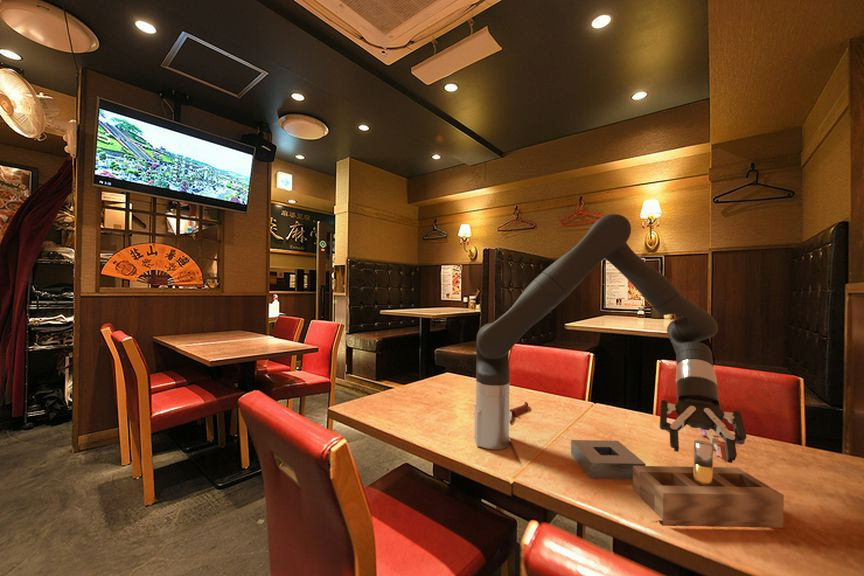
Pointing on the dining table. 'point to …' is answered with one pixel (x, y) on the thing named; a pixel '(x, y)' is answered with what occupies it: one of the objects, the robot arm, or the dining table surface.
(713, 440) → the decorative key
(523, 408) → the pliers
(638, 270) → the robot arm
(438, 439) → the dining table surface
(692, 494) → the vial rack
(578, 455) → the socket block
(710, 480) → the gold clear cylinder
